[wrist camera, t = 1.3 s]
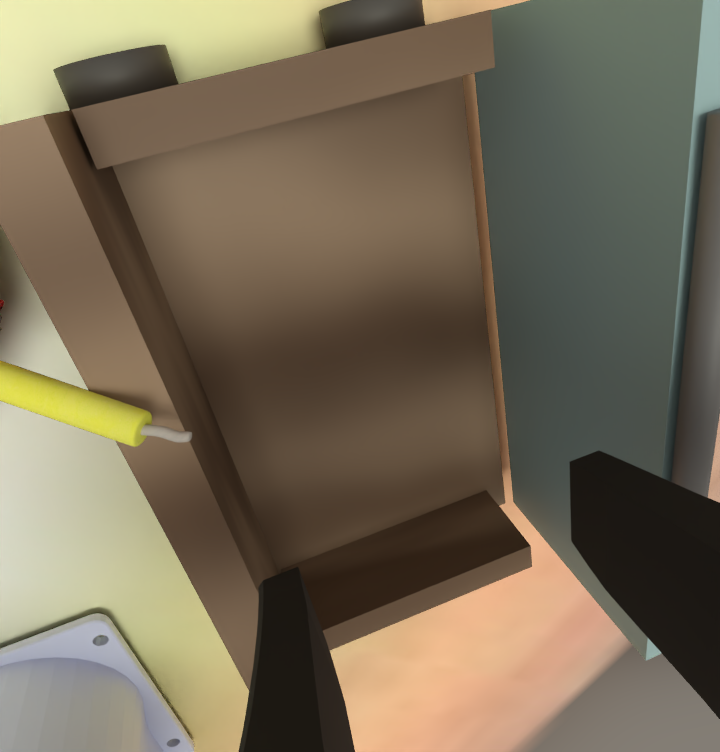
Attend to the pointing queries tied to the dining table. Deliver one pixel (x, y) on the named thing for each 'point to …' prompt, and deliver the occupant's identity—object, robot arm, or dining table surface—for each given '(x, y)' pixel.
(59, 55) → the dining table surface
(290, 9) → the dining table surface
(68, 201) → the cart bed
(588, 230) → the panel
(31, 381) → the cupcake
